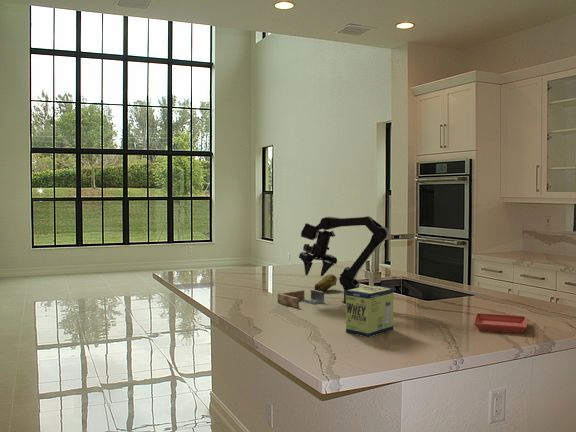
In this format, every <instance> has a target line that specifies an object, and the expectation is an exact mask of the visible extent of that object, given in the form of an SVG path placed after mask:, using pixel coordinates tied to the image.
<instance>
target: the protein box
mask: <svg viewBox="0 0 576 432" xmlns="http://www.w3.org/2000/svg"><path fill="white" fill-rule="evenodd" d="M390 330H391V331H394V288H392V287H386V286H379V285H372V284H370V285H366V286H365V285H364V286H361V287H360V286H359V288H356V289H351V290H346V303H345V332H346V333H347V332H348V333H347V334H351V335H356V334H358V335H357V336H360V335H362V336H361V337H364V336H366V337H365V338H371V337H374V336H373V335H375V336H377V335H376V334H378V335H380V333H381V334H384V333H387V331H388V332H390ZM383 332H384V333H383ZM370 336H371V337H370Z"/></svg>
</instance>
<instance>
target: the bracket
mask: <svg viewBox="0 0 576 432" xmlns="http://www.w3.org/2000/svg"><path fill="white" fill-rule="evenodd" d="M304 302H305V303H308V304H311V305H318V304H323V303H325V291H317V290H315V289H310V298H304V299H303V303H304Z"/></svg>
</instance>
